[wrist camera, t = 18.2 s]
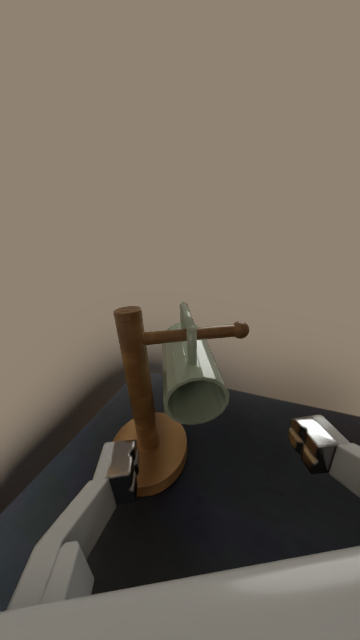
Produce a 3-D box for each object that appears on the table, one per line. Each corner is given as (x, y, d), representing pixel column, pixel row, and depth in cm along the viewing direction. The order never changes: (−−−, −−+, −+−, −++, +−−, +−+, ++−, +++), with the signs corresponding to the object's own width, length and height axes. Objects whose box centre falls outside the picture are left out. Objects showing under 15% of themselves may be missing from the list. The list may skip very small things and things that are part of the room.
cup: (204, 355, 29) (227, 420, 19) (164, 360, 28) (166, 428, 18) (204, 293, 24) (234, 335, 14) (157, 297, 24) (155, 342, 14)
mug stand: (101, 503, 18) (45, 334, 12) (120, 424, 26) (93, 301, 20) (258, 480, 19) (278, 313, 13) (228, 411, 27) (232, 290, 21)
